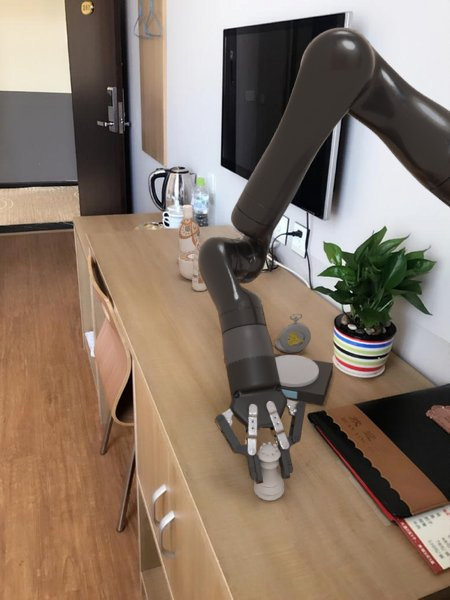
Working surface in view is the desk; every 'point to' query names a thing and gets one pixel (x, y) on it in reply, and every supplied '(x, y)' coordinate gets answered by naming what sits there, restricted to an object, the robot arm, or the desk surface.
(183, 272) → the cosmetic set
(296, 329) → the pocket watch
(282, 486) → the rook chess piece
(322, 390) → the scale
